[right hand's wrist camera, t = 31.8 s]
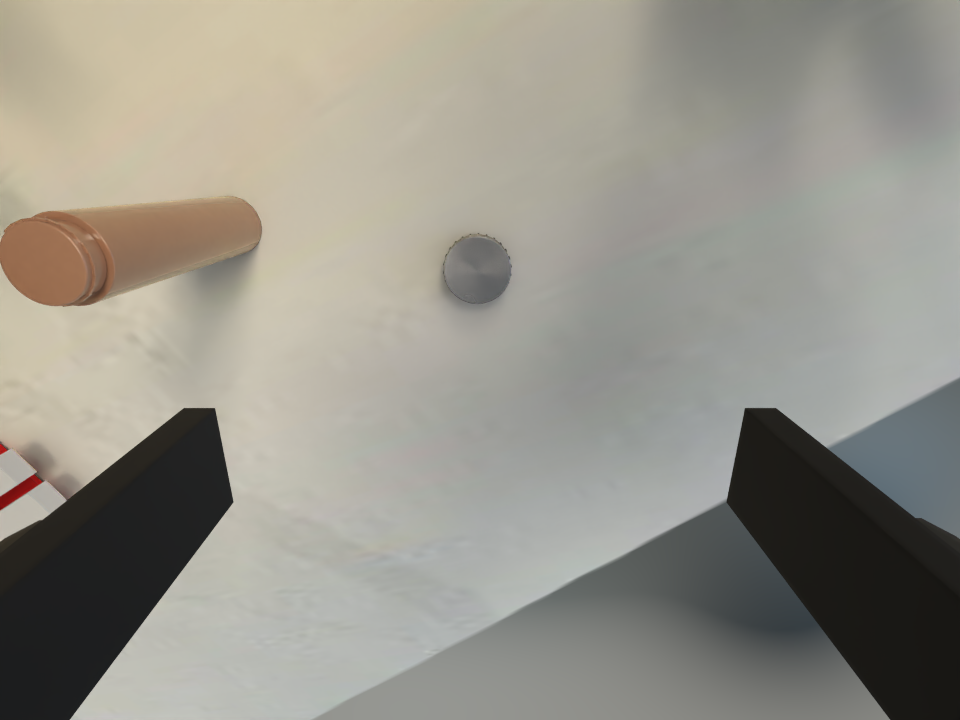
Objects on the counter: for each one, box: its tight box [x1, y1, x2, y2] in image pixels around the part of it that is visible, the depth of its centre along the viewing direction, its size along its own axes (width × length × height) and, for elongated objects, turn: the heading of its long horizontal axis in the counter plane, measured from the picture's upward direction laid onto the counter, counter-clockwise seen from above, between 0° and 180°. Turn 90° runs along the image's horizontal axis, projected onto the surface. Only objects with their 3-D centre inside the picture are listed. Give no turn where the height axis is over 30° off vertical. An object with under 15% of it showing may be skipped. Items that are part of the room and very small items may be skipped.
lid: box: [443, 233, 512, 304], centre depth 39 cm, size 5×5×2 cm
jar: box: [0, 196, 261, 307], centre depth 31 cm, size 4×4×18 cm
